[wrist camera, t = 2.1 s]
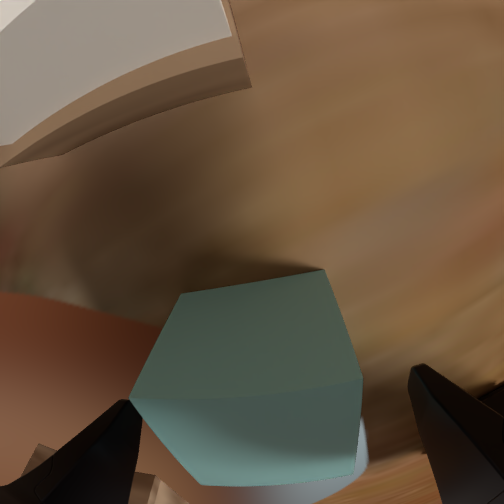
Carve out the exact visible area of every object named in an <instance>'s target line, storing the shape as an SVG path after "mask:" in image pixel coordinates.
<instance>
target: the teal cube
mask: <svg viewBox="0 0 504 504" xmlns="http://www.w3.org/2000/svg"><path fill="white" fill-rule="evenodd" d="M362 391H363V376H362V373H361V370H360V367H359V364H358V361H357V358H356V355H355V352H354V349H353V346H352V343H351V340H350V337H349V334H348V332H347V329H346V326H345V323H344V320H343V318H342V315H341V312H340V309H339V307H338V304H337V301H336V299H335V296H334V293H333V291H332V288H331V285H330V283H329V280H328V278H327V275H326V273H325V270H319V271H314V272H308V273H303V274H297V275H292V276H286V277H281V278H275V279H269V280H263V281H257V282H252V283H246V284H240V285H233V286H227V287H221V288H215V289H208V290H202V291H196V292H189V293H182V294H181V295H180V297H179V299H178V300H177V302H176V304H175V306H174V308H173V310H172V312H171V314H170V316H169V317H168V319H167V321H166V323H165V325H164V327H163V329H162V331H161V333H160V335H159V337H158V339H157V341H156V343H155V345H154V347H153V349H152V351H151V353H150V355H149V357H148V359H147V361H146V363H145V365H144V367H143V369H142V371H141V373H140V375H139V377H138V379H137V381H136V383H135V385H134V387H133V389H132V392H131V393H130V395H129V400H130V401H131V402H132V404H133V405H134V407H135V408H136V409H137V411H138V412H139V414H140V415H141V416H142V418H143V419H144V420H145V421H146V423H147V424H148V425H149V427H150V428H151V429H152V430H153V432H154V433H155V434H156V435H157V437H158V438H159V439H160V440H161V442H162V443H163V444H164V445H165V446H166V448H167V449H168V450H169V451H170V452H171V453H172V454H173V456H174V457H175V458H176V459H177V460H178V461H179V462H180V463H181V464H182V465H183V467H184V468H185V469H186V470H187V471H188V472H189V473H190V474H191V475H192V476H193V477H194V478H195V479H196V480H197V481H198V482H199V483H200V484H201V485H211V486H266V485H267V486H268V485H283V484H294V483H303V482H311V481H318V480H324V479H331V478H337V477H342V476H347V475H352V474H353V472H354V466H355V460H356V452H357V445H358V436H359V427H360V417H361V405H362Z"/></svg>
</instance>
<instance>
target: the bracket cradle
mask: <svg viewBox="0 0 504 504" xmlns="http://www.w3.org/2000/svg"><path fill="white" fill-rule="evenodd" d="M55 452H57V450H54V449H51V448H49V447H46V446H43V445H41V444H38V446H37V447H36V449H35V451H34V453H33V455H32V456H31V458H30V460H29V462H28V464H27V466H26V468H25V470H24V471H23V473H22V475H21V477H22V476H23V475H25V474H26V473H28V472H30V471H31V470H33V469H34V468H36V467H37V466H39V465H40V464H41V463H43V462H44V461H45V460H47V459H48V458H49V457H50V456H52V455H54V453H55ZM128 504H189V503H188V502H187V501H186V500H184V499H183V498H182V497H181V496H179V495H178V494H177V493H176V492H174V491H173V490H172V489H171V488H170V487H168V486H167V485H166V484H165V483H164V482H162V481H161V480H160V479H159V478H158V477H157V476H156V475H151V474H145V473H139V472H135V473H134V477H133V482H132V487H131V492H130V497H129V502H128Z"/></svg>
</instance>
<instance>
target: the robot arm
mask: <svg viewBox="0 0 504 504" xmlns="http://www.w3.org/2000/svg"><path fill="white" fill-rule="evenodd" d="M408 392H409V395H410V399H411V403H412V407H413V411H414V415H415V419H416V423H417V427H418V430H419V433H420V436H421V439H422V442H423V445H424V447H425V450H426V453H427V456H428V459H429V462H430V465H431V468H432V471H433V474H434V477H435V480H436V483H437V487H438V490H439V493H440V497H441V500H442V504H504V386H502V387H501V388H499V389H497V390H495V391H493V392H491V393H489V394H487V395H485V396H483V397H481V398H479V399H476V398H475V397H473V396H472V395H470V394H469V393H467V392H466V391H465V390H463V389H462V388H460V387H459V386H457V385H456V384H454V383H453V382H451V381H450V380H448V379H447V378H445V377H444V376H442V375H441V374H439V373H438V372H436V371H435V370H434V369H432V368H431V367H429V366H428V365H426V364H424V363H422V364H419V365H415V366H413V367H412V368H411V370H410V376H409V380H408ZM141 428H142V416H141V415H140V414H139V412H138V411H137V409H136V408H135V407H134V405H133V404H132V402H131V401H130V400H125V399H121V400H119V401H117V402H116V403H115V404H114V405H113V406H111V407H110V408H109V409H108V410H107V411H105V412H104V413H103V414H102V415H101V416H99V417H98V418H97V419H96V420H95V421H93V422H92V423H91V424H90V425H89V426H87V427H86V428H85V429H84V430H83V431H81V432H80V433H79V434H78V435H76V436H75V437H74V438H73V439H71V440H70V441H69V442H68V443H67V444H65V445H64V446H63V447H62V448H60V449H59V450H58V451H57V452H55V453H54V455H52V456H50V457H49V458H48V459H47V460H45V461H44V462H43V463H41V464H40V465H39V466H37V467H36V468H34V469H33V470H31V471H30V472H28V473H26V474H25V475H23V476H22V477H20V478H19V479H17V480H15V481H14V482H12V483H10V484H8V485H5V486H0V504H128V502H129V497H130V492H131V487H132V482H133V477H134V473H135V468H136V464H137V459H138V453H139V444H140V436H141Z"/></svg>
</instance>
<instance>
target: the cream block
mask: <svg viewBox="0 0 504 504" xmlns="http://www.w3.org/2000/svg"><path fill="white" fill-rule="evenodd" d="M230 36H232V34H231V31H230V28H229V24H228V21H227V18H226V14H225V11H224V8H223V5H222V1H221V0H0V146H2V145H9V144H13V143H14V142H15V141H17V140H18V139H19V138H20V137H22V136H23V135H24V134H26V133H27V132H28V131H30V130H31V129H32V128H34V127H35V126H37V125H38V124H39V123H41V122H42V121H44V120H45V119H47V118H48V117H50V116H51V115H53V114H54V113H56V112H57V111H59V110H60V109H62V108H63V107H65V106H67V105H68V104H70V103H72V102H73V101H75V100H77V99H78V98H80V97H82V96H83V95H85V94H87V93H89V92H91V91H92V90H94V89H96V88H98V87H100V86H102V85H104V84H106V83H108V82H110V81H112V80H114V79H116V78H118V77H120V76H122V75H124V74H126V73H128V72H130V71H133V70H135V69H137V68H139V67H142V66H144V65H146V64H149V63H151V62H154V61H156V60H159V59H161V58H164V57H167V56H169V55H172V54H175V53H178V52H180V51H183V50H186V49H189V48H192V47H195V46H199V45H202V44H205V43H208V42H212V41H215V40H219V39H223V38H226V37H230Z"/></svg>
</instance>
